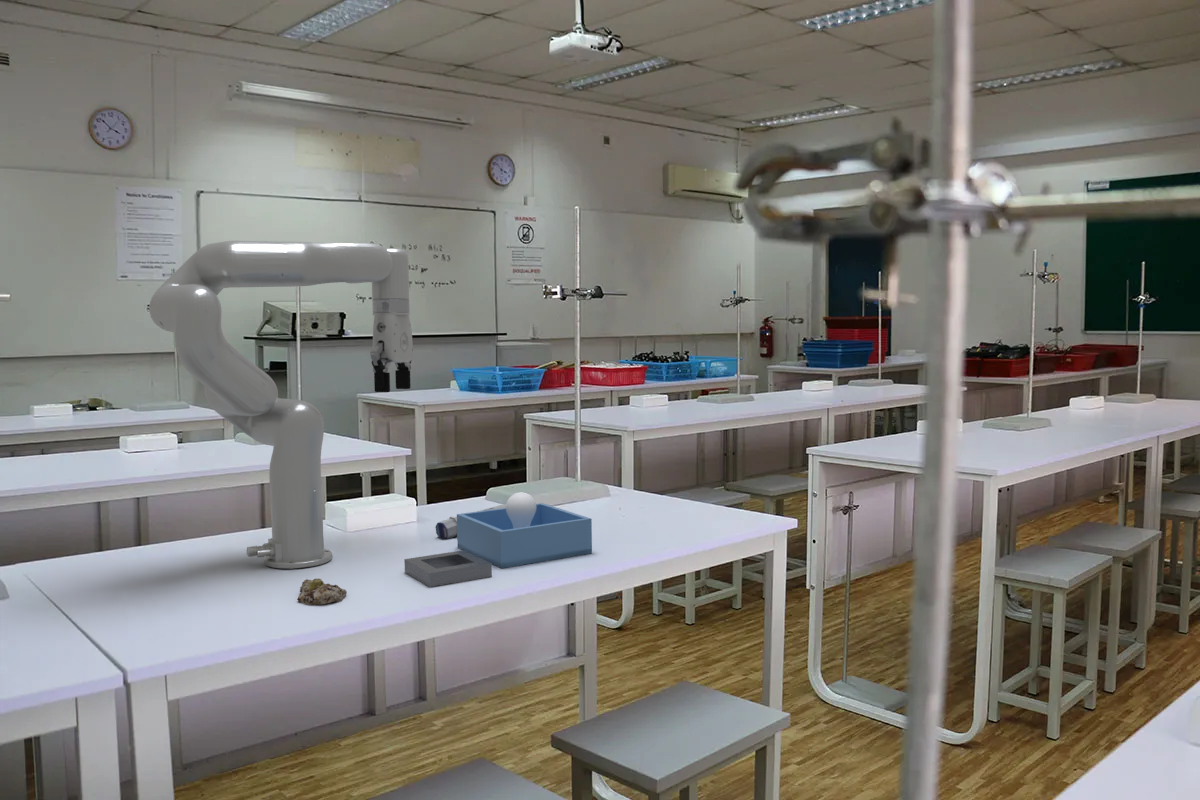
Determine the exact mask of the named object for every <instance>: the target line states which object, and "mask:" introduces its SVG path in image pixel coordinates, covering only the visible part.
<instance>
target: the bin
mask: <svg viewBox="0 0 1200 800" xmlns="http://www.w3.org/2000/svg"><path fill="white" fill-rule="evenodd" d="M456 517H457V537H456V539H457V543H456V544H457V549H460V551H461V550H465V551H467V552H469V553H471V554H473V555H475V556H477V557H480V558H482V559H484V560H486V561H488V562H490V563H492V565H493V566H495V567H497V568H500V569H508V568H512V567H513V566H514V567H519V566H518V565H520V566H525V565H524V564H526V565H530V564H531V563H532V564H538V563H544V562H549V561H554V560H560V559H567V557H568V558H572V557H573V556H574V557H579V556H578V555H580V556H583V555H584V556H586V555H591V554H593V539H592V538H593V534H592V533H593V532H592V530H593V529H592V522H593V521H592V518H590V517H587V516H584V515H581V514H578V513H576V512H572V511H569V510H567V509H566V510H565V509H562V508H559V507H556V506H553V505H550V504H547V503H543V502H540V503H536V512H535V515H534V517H533V519H532V521H531V524H530V526H529V527H522V528H515V529H514V528H513V524H512V522H511V520H510V518H509V516H508V514H507V512H506V508H500V509H493V510H485V511H480V510H477V511H471V512H470V511H469V512H462V513H457V514H456ZM574 557H573V558H574ZM532 564H531V565H532Z"/></svg>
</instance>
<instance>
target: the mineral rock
mask: <svg viewBox="0 0 1200 800" xmlns="http://www.w3.org/2000/svg"><path fill="white" fill-rule="evenodd" d="M299 593H300V594H299V596H298V597H297V599H296V600H297V601H298V603H301V604H303V605H304V604H305V605H308V606H312V605H317V606H318V605H327V604H331V603H334V602H338V601H340V602H342V601H343V600H344V599H345V597H346V596H347V593H348V591H347V590H346V589H345V588H341V587H340V586H339V585H338V584H333V585H332V584H330V583H325V582H324V581H323V580H322V578H314V579H305V580H303V582H302V583H301V585H300V586H299ZM338 603H339V602H338Z"/></svg>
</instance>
